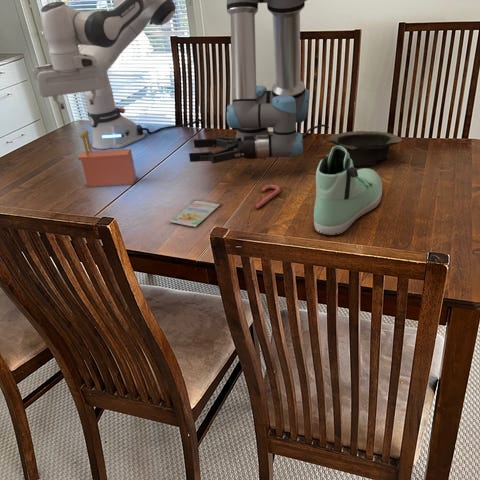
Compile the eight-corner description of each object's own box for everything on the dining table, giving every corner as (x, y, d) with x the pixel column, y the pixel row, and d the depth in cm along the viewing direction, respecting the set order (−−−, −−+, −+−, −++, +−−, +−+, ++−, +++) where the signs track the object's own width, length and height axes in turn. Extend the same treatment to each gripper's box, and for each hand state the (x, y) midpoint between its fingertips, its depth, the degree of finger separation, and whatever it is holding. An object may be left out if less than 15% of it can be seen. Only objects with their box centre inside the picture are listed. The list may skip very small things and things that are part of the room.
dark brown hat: (359, 176, 156) (359, 149, 151) (314, 159, 176) (313, 134, 172) (416, 158, 164) (418, 131, 160) (367, 143, 185) (368, 119, 180)
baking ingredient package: (169, 220, 138) (195, 199, 150) (169, 222, 139) (195, 200, 150) (195, 225, 135) (220, 203, 146) (195, 227, 135) (220, 205, 147)
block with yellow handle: (78, 160, 160) (72, 135, 156) (83, 154, 165) (77, 130, 160) (127, 157, 159) (122, 132, 155) (131, 151, 164) (126, 127, 160)
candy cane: (241, 205, 145) (241, 201, 144) (268, 186, 155) (268, 182, 154) (258, 210, 142) (258, 205, 141) (284, 190, 152) (284, 185, 151)
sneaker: (389, 187, 148) (396, 123, 138) (356, 242, 123) (361, 168, 112) (346, 181, 154) (350, 119, 144) (306, 232, 129) (307, 161, 118)
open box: (87, 186, 165) (80, 160, 160) (92, 180, 170) (85, 154, 165) (133, 184, 165) (127, 157, 159) (136, 177, 169) (131, 151, 164)
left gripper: (30, 68, 142) (43, 114, 149) (100, 59, 146) (110, 104, 153) (31, 64, 147) (44, 109, 154) (99, 55, 151) (108, 99, 158)
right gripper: (256, 171, 150) (189, 175, 151) (255, 145, 171) (197, 148, 172) (255, 148, 146) (186, 152, 147) (254, 124, 168) (194, 128, 169)
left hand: (77, 106), depth 154 cm, fingers open, 8 cm apart
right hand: (191, 150), depth 160 cm, fingers open, 13 cm apart
